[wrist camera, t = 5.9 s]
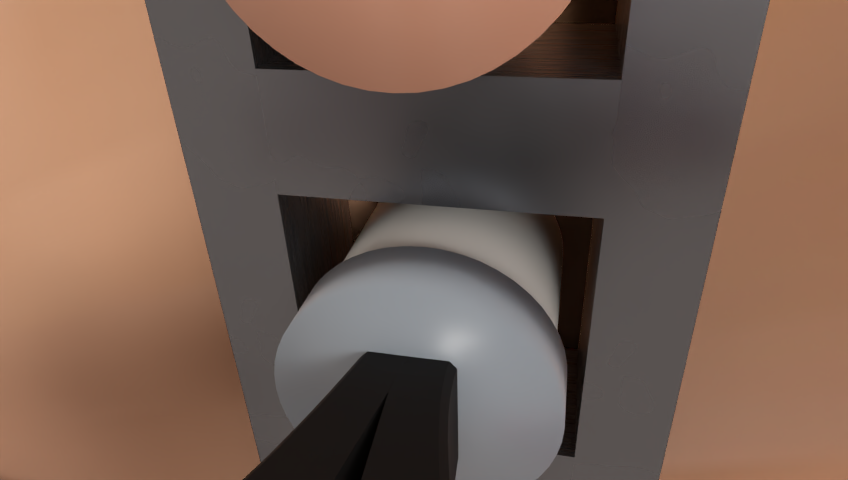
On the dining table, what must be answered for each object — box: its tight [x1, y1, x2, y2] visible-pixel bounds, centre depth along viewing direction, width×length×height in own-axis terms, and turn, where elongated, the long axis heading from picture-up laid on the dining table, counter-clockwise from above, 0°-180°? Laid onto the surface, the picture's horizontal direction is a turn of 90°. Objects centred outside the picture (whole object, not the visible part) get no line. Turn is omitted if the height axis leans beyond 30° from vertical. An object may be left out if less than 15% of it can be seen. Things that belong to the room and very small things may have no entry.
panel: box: [145, 0, 770, 480], centre depth 12 cm, size 8×24×3 cm, turn 3°
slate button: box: [274, 202, 567, 480], centre depth 11 cm, size 4×4×4 cm
